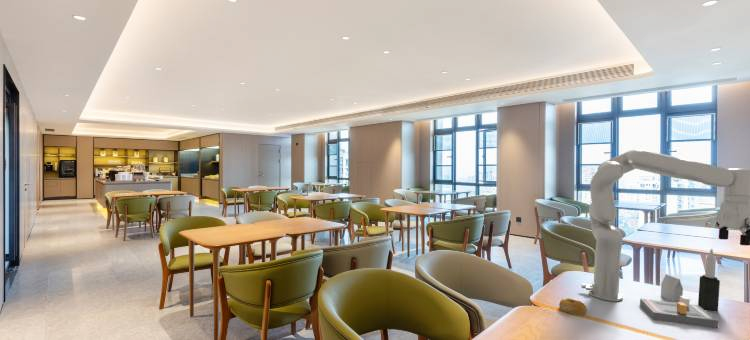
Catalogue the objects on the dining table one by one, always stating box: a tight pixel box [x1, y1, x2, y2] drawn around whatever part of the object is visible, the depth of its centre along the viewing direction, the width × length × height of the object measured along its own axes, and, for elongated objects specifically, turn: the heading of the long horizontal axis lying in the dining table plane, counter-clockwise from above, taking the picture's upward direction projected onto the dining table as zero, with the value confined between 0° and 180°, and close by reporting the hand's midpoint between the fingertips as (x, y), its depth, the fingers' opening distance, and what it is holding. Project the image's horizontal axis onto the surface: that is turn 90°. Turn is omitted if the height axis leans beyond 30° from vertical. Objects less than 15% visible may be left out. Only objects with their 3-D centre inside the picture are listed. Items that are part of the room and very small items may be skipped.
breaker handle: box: [676, 302, 687, 314], centre depth 140 cm, size 2×3×3 cm, turn 162°
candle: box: [697, 248, 721, 313], centre depth 151 cm, size 5×5×25 cm
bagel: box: [558, 298, 588, 316], centre depth 148 cm, size 10×11×5 cm
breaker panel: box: [639, 295, 719, 330], centre depth 144 cm, size 20×14×7 cm
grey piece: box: [660, 273, 684, 303], centre depth 161 cm, size 4×7×10 cm, turn 4°
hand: (733, 242), depth 146 cm, fingers open, 9 cm apart
